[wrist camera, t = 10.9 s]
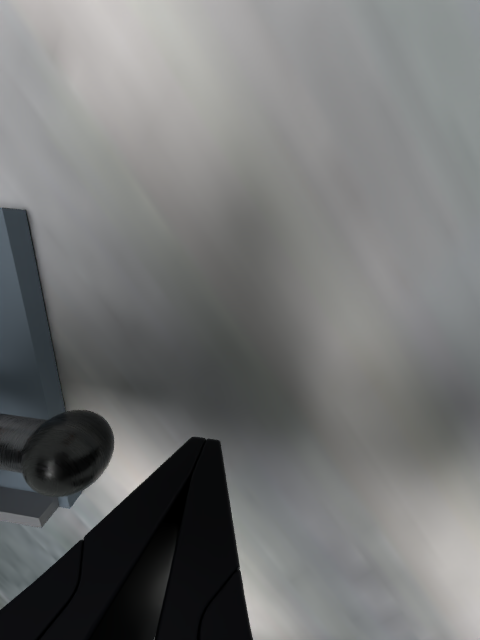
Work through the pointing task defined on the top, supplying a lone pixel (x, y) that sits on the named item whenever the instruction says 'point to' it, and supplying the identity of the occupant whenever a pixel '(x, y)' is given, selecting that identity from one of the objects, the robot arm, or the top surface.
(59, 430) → the sliding jaw
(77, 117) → the top surface
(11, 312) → the vise base
